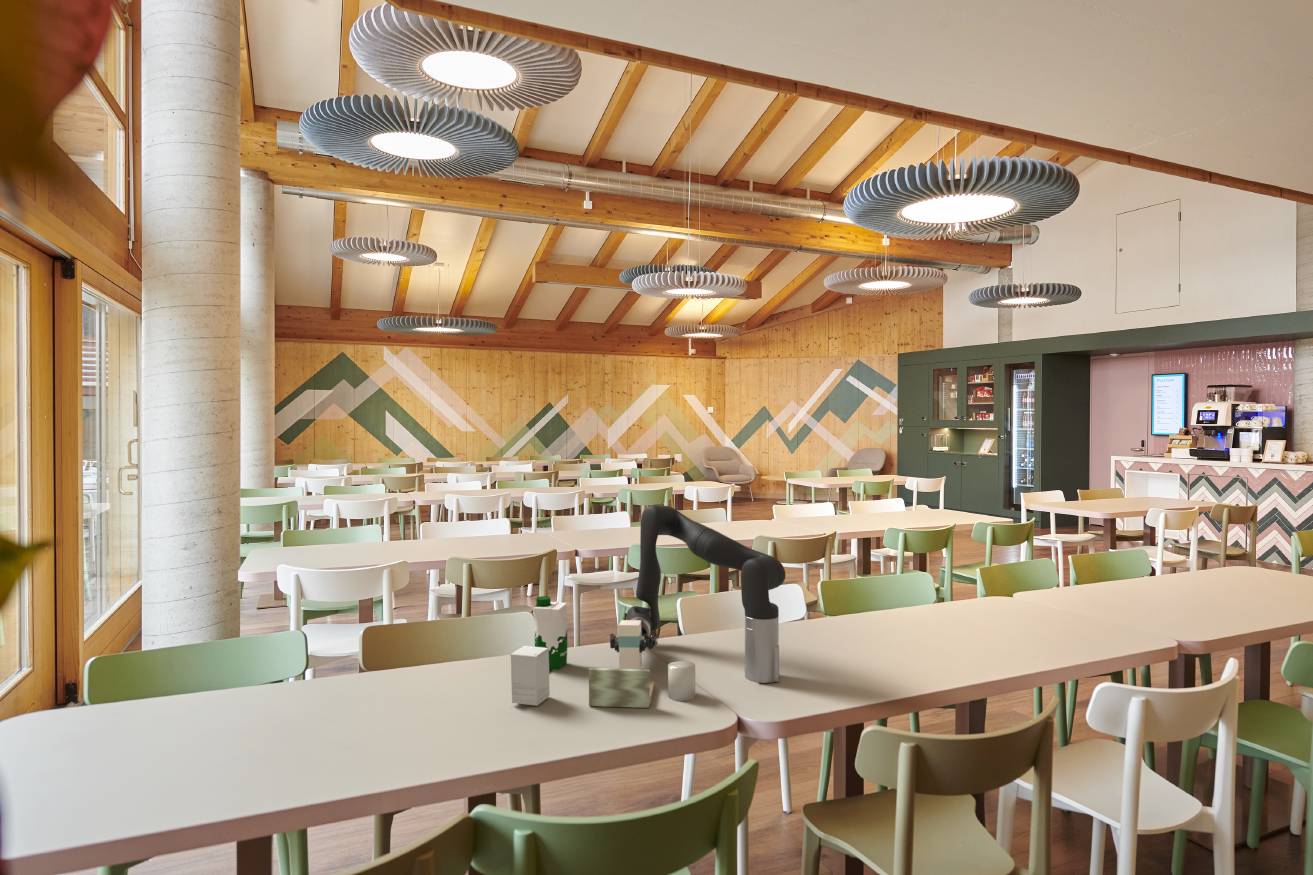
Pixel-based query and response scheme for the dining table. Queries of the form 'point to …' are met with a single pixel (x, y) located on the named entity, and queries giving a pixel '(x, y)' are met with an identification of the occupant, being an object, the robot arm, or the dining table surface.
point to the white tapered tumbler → (681, 681)
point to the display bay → (620, 687)
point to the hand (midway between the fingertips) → (629, 648)
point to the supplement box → (530, 675)
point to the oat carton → (630, 644)
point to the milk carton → (551, 630)
